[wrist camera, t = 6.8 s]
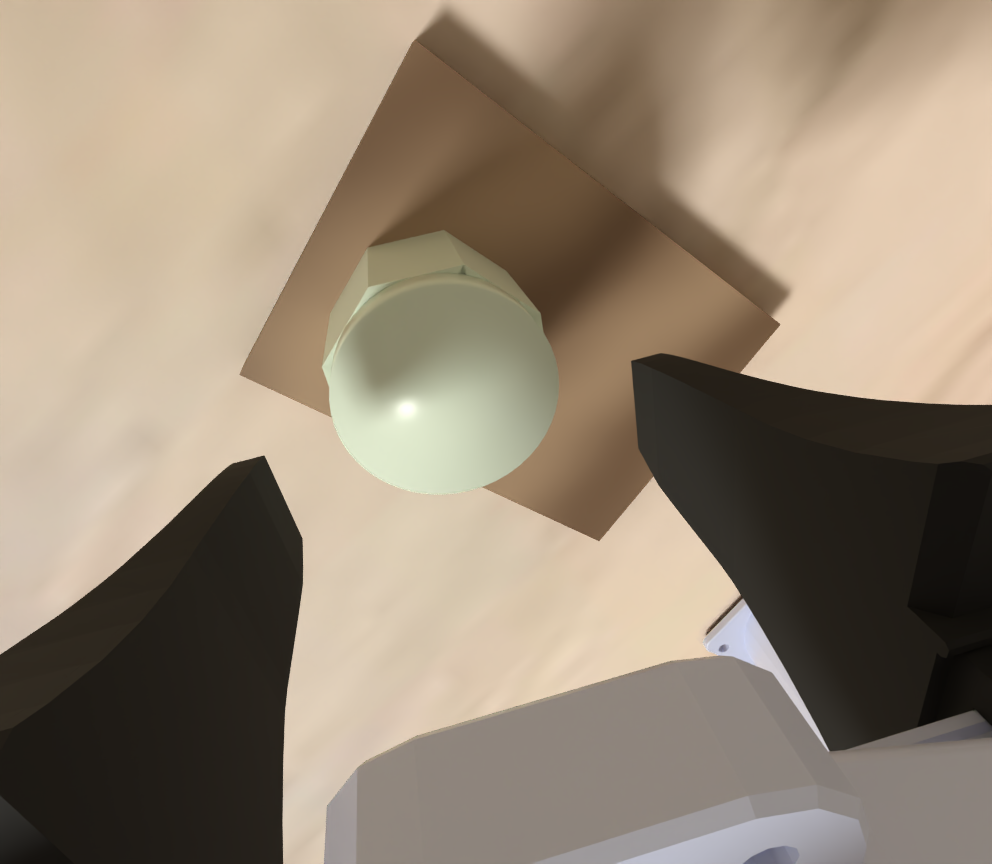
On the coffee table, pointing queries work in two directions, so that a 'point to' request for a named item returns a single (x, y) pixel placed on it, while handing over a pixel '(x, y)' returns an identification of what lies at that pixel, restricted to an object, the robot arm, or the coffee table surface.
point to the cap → (437, 367)
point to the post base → (516, 279)
